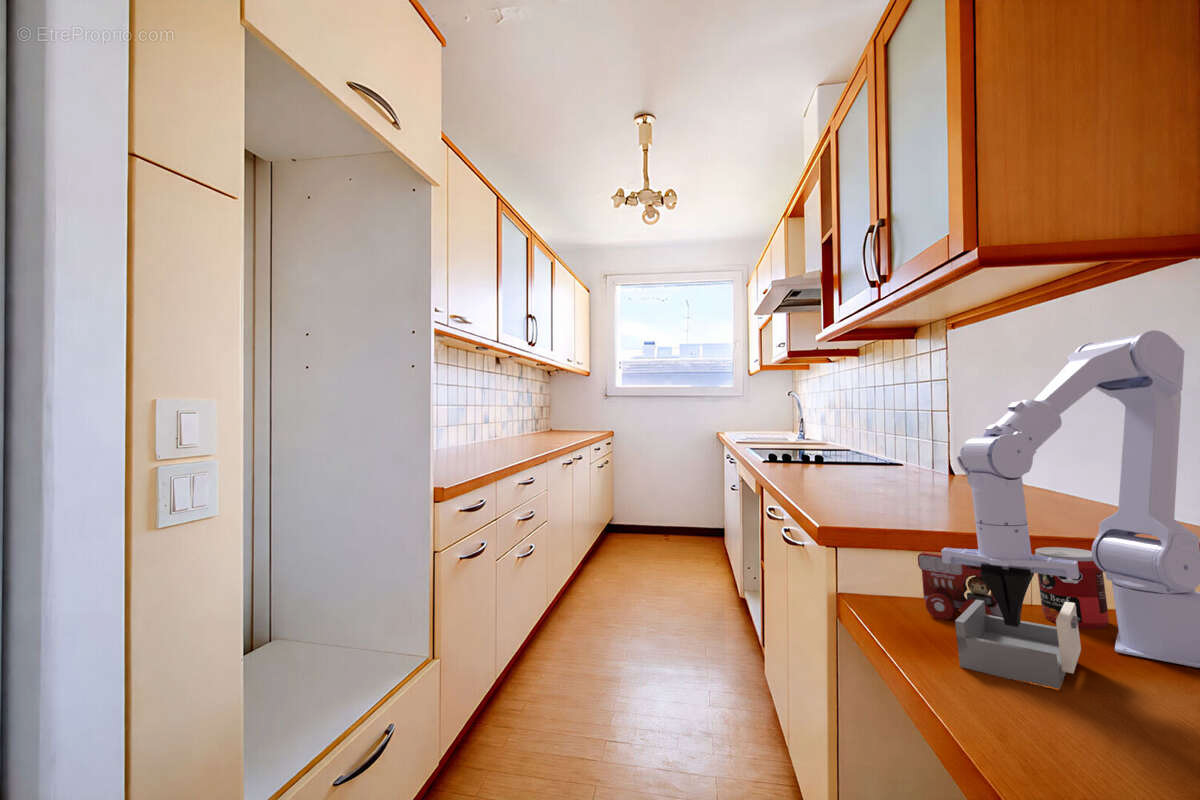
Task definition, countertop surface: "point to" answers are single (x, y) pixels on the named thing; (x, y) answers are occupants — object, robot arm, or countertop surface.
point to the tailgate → (1068, 637)
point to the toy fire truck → (953, 587)
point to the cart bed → (1008, 647)
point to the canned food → (1074, 589)
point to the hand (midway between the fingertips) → (1012, 624)
